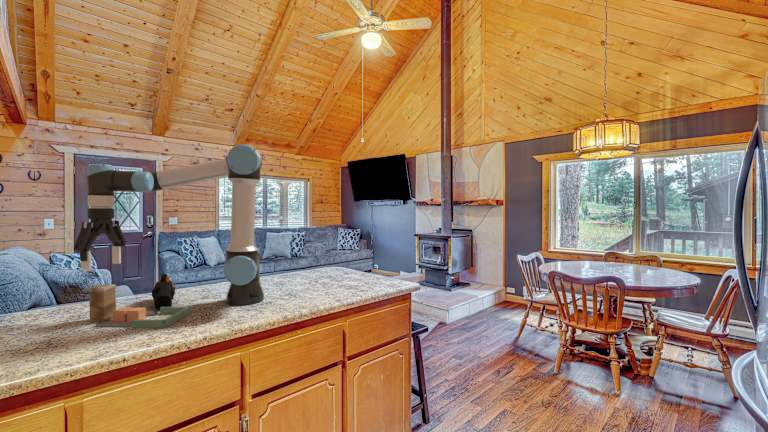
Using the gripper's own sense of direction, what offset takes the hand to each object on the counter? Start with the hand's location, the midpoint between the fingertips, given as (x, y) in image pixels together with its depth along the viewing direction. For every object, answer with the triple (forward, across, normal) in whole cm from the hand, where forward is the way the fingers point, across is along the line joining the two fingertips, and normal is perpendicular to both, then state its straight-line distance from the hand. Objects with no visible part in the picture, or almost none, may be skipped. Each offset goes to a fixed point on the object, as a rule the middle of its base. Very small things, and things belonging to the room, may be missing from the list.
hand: (102, 267), depth 127 cm
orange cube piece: (+19, 0, +12) cm, 23 cm away
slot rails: (+19, 0, +10) cm, 21 cm away
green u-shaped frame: (+19, 0, +22) cm, 29 cm away
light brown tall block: (+19, +1, +1) cm, 19 cm away
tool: (+19, -19, +10) cm, 29 cm away
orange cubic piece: (+19, 0, +8) cm, 20 cm away
